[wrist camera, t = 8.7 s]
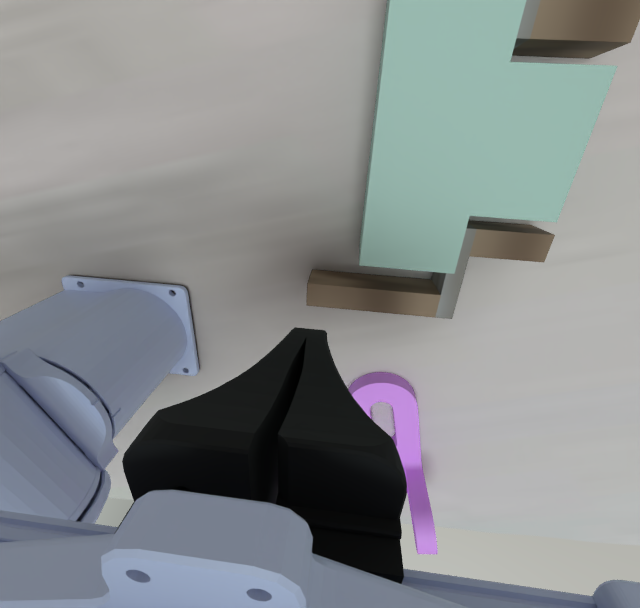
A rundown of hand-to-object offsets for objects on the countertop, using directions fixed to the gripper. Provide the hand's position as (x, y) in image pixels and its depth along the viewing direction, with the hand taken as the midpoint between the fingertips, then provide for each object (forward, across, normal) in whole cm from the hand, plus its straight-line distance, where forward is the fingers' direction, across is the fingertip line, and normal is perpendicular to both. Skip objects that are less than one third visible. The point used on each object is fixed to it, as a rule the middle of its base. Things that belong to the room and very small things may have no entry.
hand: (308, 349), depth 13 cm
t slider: (+9, -6, -8) cm, 14 cm away
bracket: (+10, -6, +14) cm, 18 cm away
